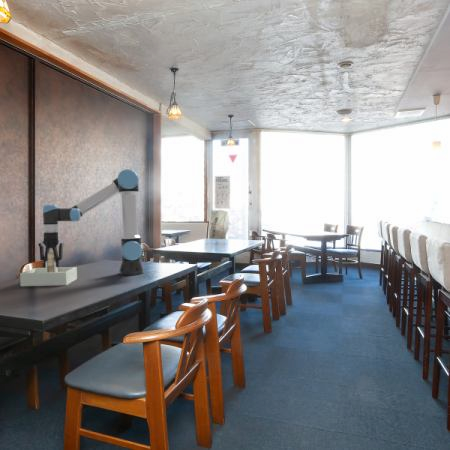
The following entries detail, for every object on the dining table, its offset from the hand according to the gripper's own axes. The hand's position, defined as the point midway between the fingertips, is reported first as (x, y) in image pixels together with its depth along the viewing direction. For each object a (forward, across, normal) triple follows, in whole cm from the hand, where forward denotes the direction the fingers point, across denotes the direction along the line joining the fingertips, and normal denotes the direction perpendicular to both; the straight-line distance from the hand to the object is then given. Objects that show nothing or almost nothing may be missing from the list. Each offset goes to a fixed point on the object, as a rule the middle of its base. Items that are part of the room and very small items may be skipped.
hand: (51, 272), depth 212 cm
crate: (+5, 0, +3) cm, 6 cm away
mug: (+5, +5, -14) cm, 16 cm away
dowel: (+3, 0, 0) cm, 3 cm away
